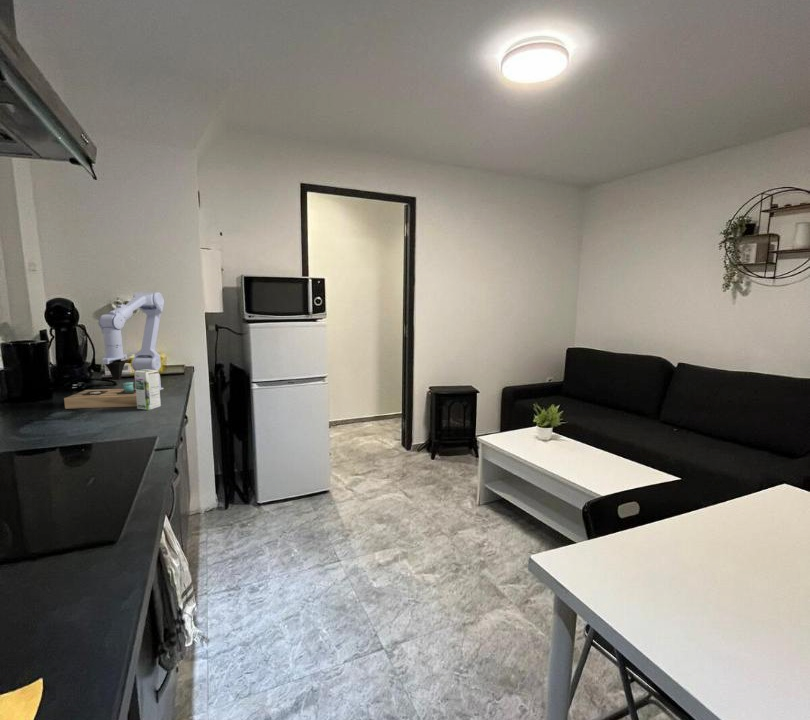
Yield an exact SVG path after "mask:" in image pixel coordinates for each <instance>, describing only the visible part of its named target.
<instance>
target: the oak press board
mask: <svg viewBox="0 0 810 720" xmlns="http://www.w3.org/2000/svg"><path fill="white" fill-rule="evenodd" d="M133 389H134V392H129V393H124V388H115V389H114V388H112V389H110V388H108V389H106V388H105V389H84V390H81V391H79V392H77V393H74V394H72V395H69V396H67V397H64V398H63V400H64V401H63V402H64V408H65V409H67V410H68V409H70V410H71V409H90V408H91V409H96V408H121V407H122V408H124V407H137V398H136V388H133ZM91 392H100V393H96V394H90V393H91Z"/></svg>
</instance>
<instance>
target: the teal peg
mask: <svg viewBox="0 0 810 720" xmlns="http://www.w3.org/2000/svg"><path fill="white" fill-rule="evenodd" d="M122 385H123V389H124V393H129V392H134V389H135V388H134V381H125V382H123V383H122Z"/></svg>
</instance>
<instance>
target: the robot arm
mask: <svg viewBox="0 0 810 720" xmlns="http://www.w3.org/2000/svg"><path fill="white" fill-rule="evenodd" d="M132 297H133V298H131V299H130V301H128V302H127V303H126V304H118V305H117V306H116V308H114V309H113V310H111V311H109V313H107V314H102V315H101V316H100V317H99V319H98V322H97V325H98V327H99V328H100V332H101V333H102V335H103V342H104V343H103V344H104V351H105V355H104V356H102V359H101V364H102V365H104V366H105V367H106V368H107V369H108V371H109V372H110V375H111V377H112V379H113V381H117V380H118V381H119V380H121V379H122V373H123V369H124V366H125V365H126V362H127V361H126V359H128V354H127V353H124V346H123V338H122V329H123V328H124V326H125V323H126V321H128V320H129V319H130V318H131V317H132V316H133V315H134V312H135V311H136V310H138V309H140V311H141V312H142V313H143V314H145V315H146V319H145V325H144V331H143V338H142V343H141V348H140V349H139V350H138V351H137V352H135V354H134V357H133V359H132V361H131V367H132V369H133V371H134V372H135V371H138V370H144V369H148V370H158V375H159V389H160V391H162V390H164V387H162V385H161V383H162V382H161V374H160V373H159V370H160V369H161V367H162V360H161V357H162V356H161V354H159V353H158V352H157V351H156V348H157V342H158V336H159V329H160V322H161V315H162V313H163V310H164V305H165V299H164V297H163V295H162V293H161V292H158V291H157V292H141V291H140V292H139V291H137V292H136V293H135V294H133V296H132Z"/></svg>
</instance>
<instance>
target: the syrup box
mask: <svg viewBox="0 0 810 720" xmlns="http://www.w3.org/2000/svg"><path fill="white" fill-rule="evenodd" d="M133 373H134V384H135V389H136V398H137V406H136V409H137V410H146V411H150V410H153V409H156V408H160V407H161V406H162V404H161V403H162V402H161V390H160V389H159V375H158V373H159V371H158V370H148V369H144V370H138V371H135V370H134V372H133Z"/></svg>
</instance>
